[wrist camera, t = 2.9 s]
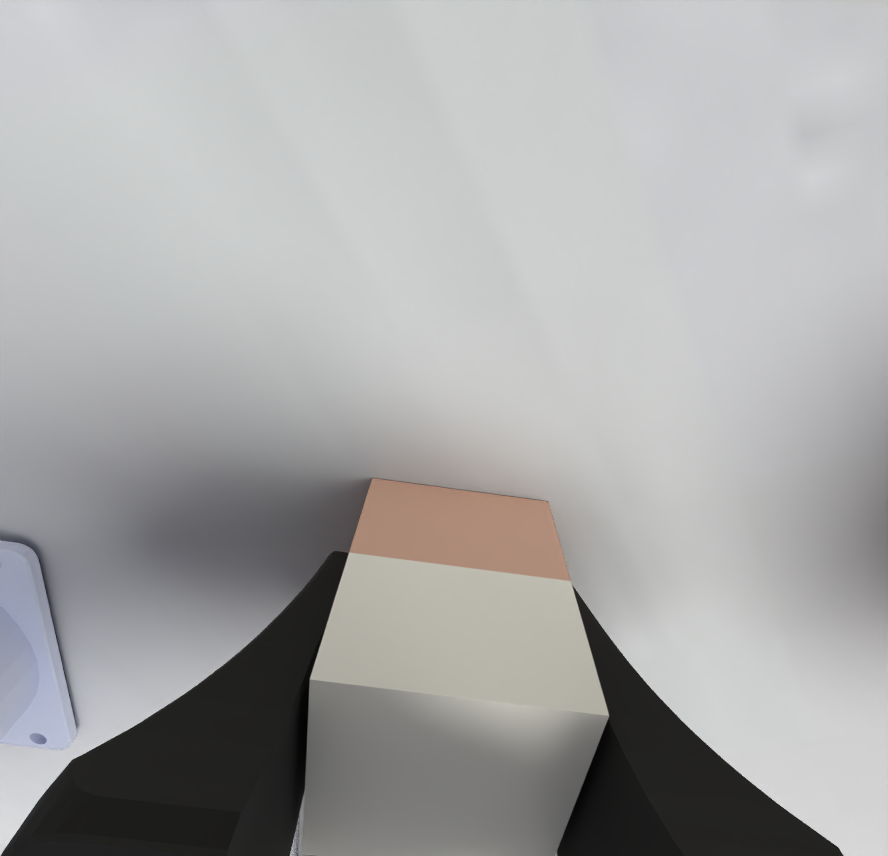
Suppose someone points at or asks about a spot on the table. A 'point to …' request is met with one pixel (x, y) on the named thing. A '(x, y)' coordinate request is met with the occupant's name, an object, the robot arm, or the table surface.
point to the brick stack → (450, 683)
